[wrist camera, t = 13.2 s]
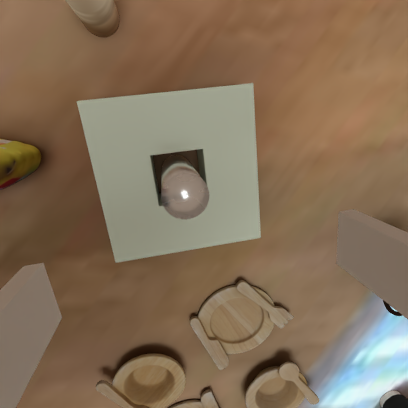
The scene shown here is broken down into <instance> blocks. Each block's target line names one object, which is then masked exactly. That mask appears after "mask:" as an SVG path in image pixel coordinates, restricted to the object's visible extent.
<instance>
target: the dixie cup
mask: <svg viewBox="0 0 408 408" xmlns="http://www.w3.org/2000/svg"><path fill="white" fill-rule="evenodd" d="M380 405H381V407H382V408H408V399H407V398H406V397H405V396H403V395H401V394H400V393H399V392H398V391H389V392H387V393H386V394H384V395H383V396H382V398H381V399H380Z"/></svg>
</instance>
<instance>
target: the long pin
mask: <svg viewBox="0 0 408 408" xmlns="http://www.w3.org/2000/svg"><path fill="white" fill-rule="evenodd" d="M161 199H162V204H163V206H164V208H165V210H166V211H167V212H168V213H169V214H170V215H172V216H173V217H175V218H178V219H191V218H194V217H196V216H198V215H200V214H201V213H202V212H203V211H204V210H205V208H206V207H207V205H208V202H209V190H208V187H207V185H206V183H205V182H204V181H203V179H202V178H201V177H200V175H199V174H198V173H197V171H196V170H195V169H194V167H193V166H192V165H191V163H190V162H189V161H188V160H187V159H186V158H185V157H183V156H181V155H172V156H170V157H168V158H167V159H166V160H165V161H164V162H163V165H162V180H161Z"/></svg>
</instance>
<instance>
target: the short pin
mask: <svg viewBox="0 0 408 408" xmlns="http://www.w3.org/2000/svg"><path fill="white" fill-rule="evenodd" d="M66 2H67V3H68V4H69V6H70V7H71V8H72V9H73V11H74V12H75V13H76V15H77V16H78V17H79V19H80V20H81V21H82V23H83V24H84V25H85V27H86V28H87V29H88V30H89V31H90V32H91V33H92V34H94V35H96V36H99V37H108V36H111V35H112V34H114V33H115V31H116V30H117V28H118V26H119V13H118V10H117V7H116V5H115V2H114V0H66Z"/></svg>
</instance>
